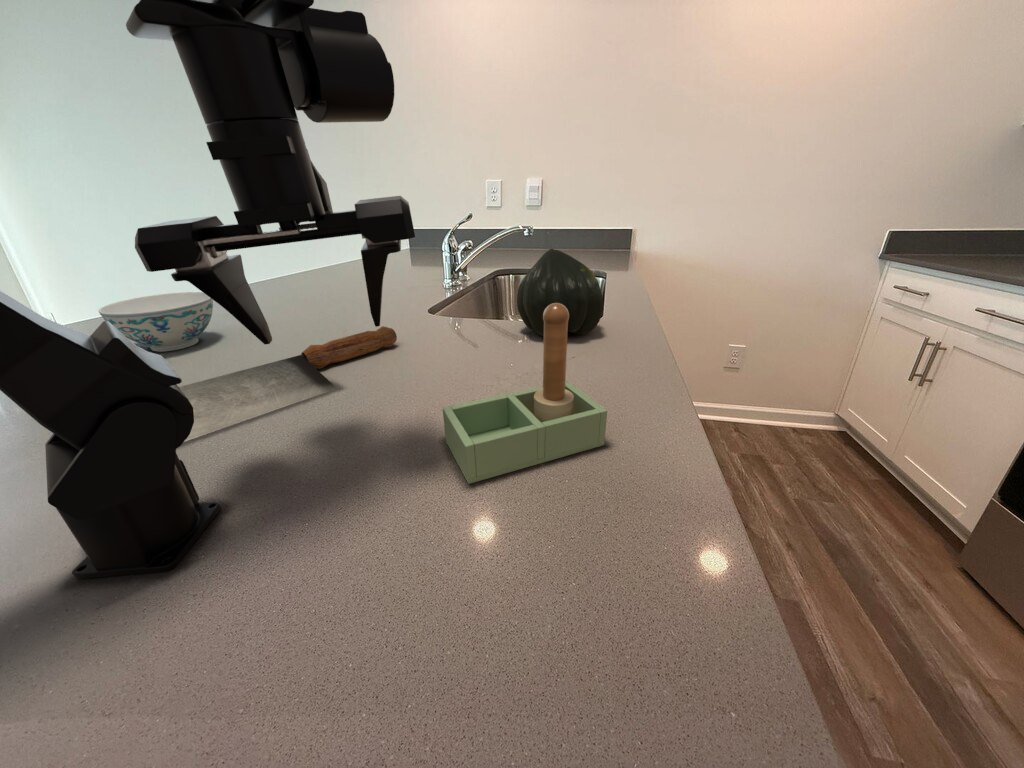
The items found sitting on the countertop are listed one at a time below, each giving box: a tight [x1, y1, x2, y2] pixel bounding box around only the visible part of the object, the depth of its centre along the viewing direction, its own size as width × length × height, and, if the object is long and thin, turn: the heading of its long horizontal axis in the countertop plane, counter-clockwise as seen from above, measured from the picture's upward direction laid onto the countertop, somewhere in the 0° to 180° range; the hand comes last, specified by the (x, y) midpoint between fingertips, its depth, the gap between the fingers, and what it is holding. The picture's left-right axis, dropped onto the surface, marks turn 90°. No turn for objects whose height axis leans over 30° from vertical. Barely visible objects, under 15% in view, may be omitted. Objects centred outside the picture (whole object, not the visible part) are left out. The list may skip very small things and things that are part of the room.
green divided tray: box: [442, 380, 608, 485], centre depth 41 cm, size 14×8×4 cm, turn 114°
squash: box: [516, 248, 604, 337], centre depth 72 cm, size 14×15×15 cm
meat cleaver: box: [178, 326, 398, 443], centre depth 56 cm, size 34×11×4 cm, turn 138°
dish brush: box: [534, 303, 574, 423], centre depth 40 cm, size 4×4×13 cm
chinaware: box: [98, 291, 214, 353], centre depth 70 cm, size 15×15×8 cm
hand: (324, 333), depth 36 cm, fingers open, 9 cm apart
